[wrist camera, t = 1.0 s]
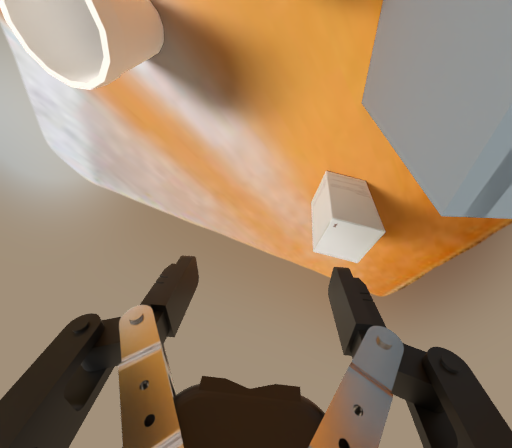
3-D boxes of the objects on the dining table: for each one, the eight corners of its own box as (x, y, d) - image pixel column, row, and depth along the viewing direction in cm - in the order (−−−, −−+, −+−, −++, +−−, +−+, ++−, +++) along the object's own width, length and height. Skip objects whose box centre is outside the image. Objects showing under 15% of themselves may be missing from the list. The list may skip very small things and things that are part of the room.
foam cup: (189, 39, 28) (129, 46, 18) (149, 85, 32) (84, 108, 23) (127, -56, 23) (4, -113, 14) (90, 12, 28) (-21, 5, 18)
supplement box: (310, 202, 41) (310, 252, 32) (326, 169, 36) (332, 217, 27) (346, 212, 42) (357, 265, 32) (367, 180, 36) (387, 232, 27)
